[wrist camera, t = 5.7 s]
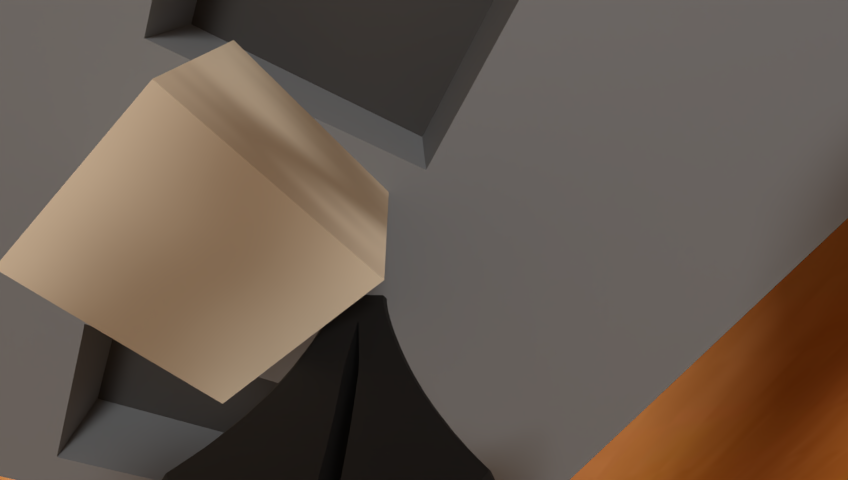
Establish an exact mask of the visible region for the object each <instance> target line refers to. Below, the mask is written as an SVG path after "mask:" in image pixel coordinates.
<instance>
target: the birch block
mask: <svg viewBox="0 0 848 480" xmlns="http://www.w3.org/2000/svg"><path fill="white" fill-rule="evenodd" d="M388 197H389V192H388V191H387V190H386V189H385V188H384V187H383V186H382V185H381V184H380V183H379V182H378V181H377V180H376V179H375V178H374V177H373V176H372V175H371V174H370V173H369V172H368V171H367V170H366V169H365V168H364V167H363V166H362V165H361V164H360V163H359V162H358V161H357V160H356V159H354V158H353V157H352V156H351V155H350V154H349V153H348V152H347V151H346V150H345V149H344V148H343V147H342V146H341V145H340V144H339V143H338V142H337V141H336V140H335V139H334V138H333V137H332V136H331V135H330V134H329V133H328V132H327V131H326V130H325V129H324V128H323V127H322V126H321V125H320V124H319V123H318V122H317V121H316V120H315V119H314V118H313V117H312V116H311V115H310V114H309V113H308V112H307V111H306V110H305V109H304V108H303V107H302V106H300V105H299V104H298V103H297V102H296V101H295V100H294V99H293V98H292V97H291V96H290V95H289V94H288V93H287V92H286V91H285V90H284V89H283V88H282V87H281V86H280V85H279V84H278V83H277V82H276V81H275V80H274V79H273V78H272V77H271V76H270V75H269V74H268V73H267V72H266V71H265V70H264V69H263V68H262V67H261V66H260V65H259V64H258V63H257V62H256V61H255V60H254V59H253V58H252V57H251V56H250V55H249V54H248V53H246V52H245V51H244V50H243V49H242V48H241V47H240V46H239V45H238V44H237V43H236V42H235V41H234V40H233V41H230V42H228V43H226V44H224V45H222V46H220V47H218V48H216V49H214V50H212V51H210V52H207V53H205V54H203V55H201V56H199V57H197V58H195V59H193V60H191V61H189V62H187V63H185V64H182V65H180V66H178V67H176V68H174V69H172V70H170V71H168V72H166V73H164V74H162V75H159V76H157V77H155V78H153V79H152V80H151V81H150V82H149V83H148V85H147V86H146V87H145V88H144V89H143V91H142V92H141V93H140V94H139V95H138V97H137V98H136V99H135V100H134V101H133V103H132V104H131V105H130V106H129V107H128V109H127V110H126V111H125V112H124V113H123V114H122V116H121V117H120V118H119V119H118V120H117V122H116V123H115V124H114V125H113V126H112V128H111V129H110V130H109V131H108V132H107V134H106V135H105V136H104V137H103V138H102V140H101V141H100V142H99V143H98V144H97V146H96V147H95V148H94V149H93V150H92V152H91V153H90V154H89V155H88V156H87V157H86V159H85V160H84V161H83V162H82V163H81V165H80V166H79V167H78V168H77V169H76V171H75V172H74V173H73V174H72V175H71V177H70V178H69V179H68V180H67V181H66V183H65V184H64V185H63V186H62V187H61V189H60V190H59V191H58V192H57V193H56V194H55V196H54V197H53V198H52V199H51V200H50V202H49V203H48V204H47V205H46V206H45V208H44V209H43V210H42V211H41V212H40V214H39V215H38V216H37V217H36V218H35V220H34V221H33V222H32V223H31V224H30V226H29V227H28V228H27V229H26V230H25V231H24V233H23V234H22V235H21V236H20V237H19V239H18V240H17V241H16V242H15V243H14V245H13V246H12V247H11V248H10V249H9V251H8V252H7V253H6V254H5V255H4V257H3V258H2V259H1V260H0V272H1V273H3V274H4V275H6V276H8V277H9V278H11V279H13V280H14V281H16V282H18V283H20V284H21V285H23V286H25V287H26V288H28V289H30V290H31V291H33V292H35V293H36V294H38V295H40V296H41V297H43V298H45V299H47V300H48V301H50V302H52V303H53V304H55V305H57V306H58V307H60V308H62V309H63V310H65V311H67V312H68V313H70V314H72V315H74V316H75V317H77V318H79V319H80V320H82V321H84V322H85V323H87V324H89V325H90V326H92V327H94V328H95V329H97V330H99V331H101V332H102V333H104V334H106V335H107V336H109V337H111V338H112V339H114V340H116V341H117V342H119V343H121V344H122V345H124V346H126V347H128V348H129V349H131V350H133V351H134V352H136V353H138V354H139V355H141V356H143V357H144V358H146V359H148V360H149V361H151V362H153V363H155V364H156V365H158V366H160V367H161V368H163V369H165V370H166V371H168V372H170V373H171V374H173V375H175V376H176V377H178V378H180V379H182V380H183V381H185V382H187V383H188V384H190V385H192V386H193V387H195V388H197V389H198V390H200V391H202V392H203V393H205V394H207V395H209V396H210V397H212V398H214V399H215V400H217V401H219V402H220V403H222V404H223V403H224V402H226V401H227V400H228V399H230V398H231V397H232V396H233V395H235V394H236V393H237V392H239V391H240V390H241V389H243V388H244V387H245V386H247V385H248V384H249V383H250V382H252V381H253V380H254V379H256V378H257V377H258V376H260V375H261V374H262V373H264V372H265V371H266V370H267V369H269V368H270V367H271V366H273V365H274V364H275V363H277V362H278V361H279V360H280V359H282V358H283V357H284V356H286V355H287V354H288V353H290V352H291V351H292V350H294V349H295V348H296V347H297V346H299V345H300V344H301V343H303V342H304V341H305V340H307V339H308V338H309V337H311V336H312V335H313V334H314V333H316V332H317V331H318V330H320V329H321V328H322V327H324V326H325V325H326V324H327V323H329V322H330V321H331V320H333V319H334V318H335V317H337V316H338V315H339V314H341V313H342V312H343V311H344V310H346V309H347V308H348V307H350V306H351V305H352V304H354V303H355V302H356V301H358V300H359V299H360V298H361V297H363V296H364V295H365V294H367V293H368V292H369V291H371V290H372V289H373V288H375V287H376V286H377V285H378V284H380V283H381V282H382V281H384V276H385V256H386V237H387V217H388Z"/></svg>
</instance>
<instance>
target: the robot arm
mask: <svg viewBox="0 0 848 480" xmlns="http://www.w3.org/2000/svg"><path fill="white" fill-rule="evenodd" d="M162 480H495V479H494V477H493V474H492V472H491V471H490V470H489V469H488V468H487V467H486V466H485V465H484V464H483V463H482V462H481V461H480V460H479V459H478V458H477V457H476V456H475V455H474V454H473V453H472V452H471V451H470V450H469V449H468V448H467V446H466V445H465V444H464V443H463V442H462V441H461V440H460V438H459V437H458V436H457V435H456V434H455V433H454V432H453V430H452V429H451V428H450V427H449V425H448V424H447V423H446V421H445V420H444V419H443V418H442V416H441V415H440V414H439V412H438V411H437V410H436V408H435V407H434V406H433V404H432V403H431V401H430V400H429V398H428V397H427V395H426V394H425V392H424V391H423V389H422V387H421V386H420V384H419V382H418V381H417V379H416V377H415V375H414V374H413V372H412V370H411V368H410V366H409V364H408V362H407V360H406V358H405V356H404V354H403V352H402V349H401V347H400V345H399V342H398V340H397V337H396V335H395V332H394V329H393V326H392V323H391V320H390V316H389V312H388V307H387V298H386V297H385V296H383V295H364V296H363V297H361V298H360V299H359V300H358V301H356V302H355V303H354V304H352V305H351V306H350V307H348V308H347V309H346V310H344V311H343V312H342V313H341V314H339V315H338V316H337V317H335V318H334V319H333V320H331V321H330V322H329V323H327V324H326V325H325V326H324V327H322V328H321V329H320V331H319V332H318V334H317V335H316V337H315V338H314V340H313V341H312V343H311V344H310V345H309V347H308V348H307V349H306V351H305V352H304V353H303V354H302V356H301V357H300V358H299V360H298V361H297V362H296V363H295V365H294V366H293V367H292V368H291V369H290V371H289V372H288V373H287V374H286V375H285V376H284V377H283V378H282V380H281V381H280V382H279V383H278V384H277V385H276V386H275V387H274V388H273V389H272V390H271V391H270V392H269V393H268V394H267V395H266V396H265V397H264V398H263V399H262V400H261V401H260V402H259V403H258V404H257V405H256V406H255V407H254V408H253V409H251V410H250V411H249V412H248V413H247V414H246V415H245V416H244V417H242V418H241V419H240V420H239V421H238V422H236V423H235V424H234V425H233V426H231V427H230V428H229V429H228V430H226V431H225V432H224V433H223V434H221V435H220V436H219V437H218V438H216V439H215V440H214V441H213V442H211V443H210V444H209V445H207V446H206V447H205V448H203V449H202V450H200V451H199V452H197V453H196V454H194V455H193V456H191V457H190V458H188V459H187V460H185V461H184V462H182V463H181V464H179V465H178V466H177V467H175V468H173V469H172V470H170V471H169V472H167V473H166V474H165V475H164V477H163V479H162Z"/></svg>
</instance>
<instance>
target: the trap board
mask: <svg viewBox="0 0 848 480" xmlns="http://www.w3.org/2000/svg"><path fill="white" fill-rule="evenodd" d="M233 40H234V41H235V42H236V43H237V44H238V45H239V46H240V47H241V48H242V49H243V50H244V51H245V52H246V53H248V54H249V55H250V56H251V57H252V58H253V59H254V60H255V61H256V62H257V63H258V64H259V65H260V66H261V67H262V68H263V69H264V70H265V71H266V72H267V73H268V74H269V75H270V76H271V77H272V78H273V79H274V80H275V81H276V82H277V83H278V84H279V85H280V86H281V87H282V88H283V89H284V90H285V91H286V92H287V93H288V94H289V95H290V96H291V97H292V98H293V99H294V100H295V101H296V102H297V103H298V104H299V105H300V106H302V107H303V108H304V109H305V110H306V111H307V112H308V113H309V114H310V115H311V116H312V117H313V118H314V119H315V120H316V121H317V122H318V123H319V124H320V125H321V126H322V127H323V128H324V129H325V130H326V131H327V132H328V133H329V134H330V135H331V136H332V137H333V138H334V139H335V140H336V141H337V142H338V143H339V144H340V145H341V146H342V147H343V148H344V149H345V150H346V151H347V152H348V153H349V154H350V155H351V156H352V157H353V158H354V159H356V160H357V161H358V162H359V163H360V164H361V165H362V166H363V167H364V168H365V169H366V170H367V171H368V172H369V173H370V174H371V175H372V176H373V177H374V178H375V179H376V180H377V181H378V182H379V183H380V184H381V185H382V186H383V187H384V188H385V189H386V190H387V191H388V192H389V197H388V217H387V237H386V256H385V276H384V281H382V282H381V283H380V284H378V285H377V286H376V287H375V288H373V289H372V290H371V291H369V292H368V293H367V294H365V295H383V296H385V297H386V298H387V307H388V312H389V316H390V320H391V323H392V326H393V329H394V332H395V335H396V337H397V340H398V342H399V345H400V347H401V349H402V352H403V354H404V356H405V358H406V360H407V362H408V364H409V366H410V368H411V370H412V372H413V374H414V375H415V377H416V379H417V381H418V382H419V384H420V386H421V387H422V389H423V391H424V392H425V394H426V395H427V397H428V398H429V400H430V401H431V403H432V404H433V406H434V407H435V408H436V410H437V411H438V412H439V414H440V415H441V416H442V418H443V419H444V420H445V421H446V423H447V424H448V425H449V427H450V428H451V429H452V430H453V432H454V433H455V434H456V435H457V436H458V437H459V438H460V440H461V441H462V442H463V443H464V444H465V445H466V446H467V448H468V449H469V450H470V451H471V452H472V453H473V454H474V455H475V456H476V457H477V458H478V459H479V460H480V461H481V462H482V463H483V464H484V465H485V466H486V467H487V468H488V469H489V470H490V471H491V472H492V474H493V477H494V479H495V480H570V479H571V478H572V477H573V476H574V475H575V474H576V473H577V472H578V471H579V470H580V469H581V468H582V467H584V466H585V465H586V464H587V463H588V462H589V461H590V460H591V459H592V458H593V457H594V456H595V455H596V454H597V453H598V452H599V451H601V450H602V449H603V448H604V447H605V446H606V445H607V444H608V443H609V442H610V441H611V440H612V439H613V438H614V437H615V436H616V435H618V434H619V433H620V432H621V431H622V430H623V429H624V428H625V427H626V426H627V425H628V424H629V423H630V422H631V421H632V420H633V419H635V418H636V417H637V416H638V415H639V414H640V413H641V412H642V411H643V410H644V409H645V408H646V407H647V406H648V405H649V404H651V403H652V402H653V401H654V400H655V399H656V398H657V397H658V396H659V395H660V394H661V393H662V392H663V391H664V390H665V389H666V388H668V387H669V386H670V385H671V384H672V383H673V382H674V381H675V380H676V379H677V378H678V377H679V376H680V375H681V374H682V373H683V372H685V371H686V370H687V369H688V368H689V367H690V366H691V365H692V364H693V363H694V362H695V361H696V360H697V359H698V358H699V357H700V356H702V355H703V354H704V353H705V352H706V351H707V350H708V349H709V348H710V347H711V346H712V345H713V344H714V343H715V342H716V341H718V340H719V339H720V338H721V337H722V336H723V335H724V334H725V333H726V332H727V331H728V330H729V329H730V328H731V327H732V326H733V325H735V324H736V323H737V322H738V321H739V320H740V319H741V318H742V317H743V316H744V315H745V314H746V313H747V312H748V311H749V310H750V309H752V308H753V307H754V306H755V305H756V304H757V303H758V302H759V301H760V300H761V299H762V298H763V297H764V296H765V295H766V294H767V293H769V292H770V291H771V290H772V289H773V288H774V287H775V286H776V285H777V284H778V283H779V282H780V281H781V280H782V279H783V278H785V277H786V276H787V275H788V274H789V273H790V272H791V271H792V270H793V269H794V268H795V267H796V266H797V265H798V264H799V263H800V262H802V261H803V260H804V259H805V258H806V257H807V256H808V255H809V254H810V253H811V252H812V251H813V250H814V249H815V248H816V247H817V246H819V245H820V244H821V243H822V242H823V241H824V240H825V239H826V238H827V237H828V236H829V235H830V234H831V233H832V232H833V231H834V230H836V229H837V228H838V227H839V226H840V225H841V224H842V223H843V222H844V221H845V220H846V219H847V218H848V0H0V260H1V259H2V258H3V257H4V255H5V254H6V253H7V252H8V251H9V249H10V248H11V247H12V246H13V245H14V243H15V242H16V241H17V240H18V239H19V237H20V236H21V235H22V234H23V233H24V231H25V230H26V229H27V228H28V227H29V226H30V224H31V223H32V222H33V221H34V220H35V218H36V217H37V216H38V215H39V214H40V212H41V211H42V210H43V209H44V208H45V206H46V205H47V204H48V203H49V202H50V200H51V199H52V198H53V197H54V196H55V194H56V193H57V192H58V191H59V190H60V189H61V187H62V186H63V185H64V184H65V183H66V181H67V180H68V179H69V178H70V177H71V175H72V174H73V173H74V172H75V171H76V169H77V168H78V167H79V166H80V165H81V163H82V162H83V161H84V160H85V159H86V157H87V156H88V155H89V154H90V153H91V152H92V150H93V149H94V148H95V147H96V146H97V144H98V143H99V142H100V141H101V140H102V138H103V137H104V136H105V135H106V134H107V132H108V131H109V130H110V129H111V128H112V126H113V125H114V124H115V123H116V122H117V120H118V119H119V118H120V117H121V116H122V114H123V113H124V112H125V111H126V110H127V109H128V107H129V106H130V105H131V104H132V103H133V101H134V100H135V99H136V98H137V97H138V95H139V94H140V93H141V92H142V91H143V89H144V88H145V87H146V86H147V85H148V83H149V82H150V81H151V80H152V79H153V78H155V77H157V76H159V75H162V74H164V73H166V72H168V71H170V70H172V69H174V68H176V67H178V66H180V65H182V64H185V63H187V62H189V61H191V60H193V59H195V58H197V57H199V56H201V55H203V54H205V53H207V52H210V51H212V50H214V49H216V48H218V47H220V46H222V45H224V44H226V43H228V42H230V41H233ZM319 331H320V330H318V331H317V332H316V333H314V334H313V335H312V336H311V337H309V338H308V339H307V340H305V341H304V342H303V343H301V344H300V345H299V346H297V347H296V348H295V349H294V350H292V351H291V352H290V353H288V354H287V355H286V356H284V357H283V358H282V359H280V360H279V361H278V362H277V363H275V364H274V365H273V366H271V367H270V368H269V369H267V370H266V371H265V372H264V373H262V374H261V375H260V376H258V377H257V378H256V379H254V380H253V381H252V382H250V383H249V384H248V385H247V386H245V387H244V388H243V389H241V390H240V391H239V392H237V393H236V394H235V395H233V396H232V397H231V398H230V399H228V400H227V401H226V402H224V403H223V404H222V403H220V402H219V401H217V400H215V399H214V398H212V397H210V396H209V395H207V394H205V393H203V392H202V391H200V390H198V389H197V388H195V387H193V386H192V385H190V384H188V383H187V382H185V381H183V380H182V379H180V378H178V377H176V376H175V375H173V374H171V373H170V372H168V371H166V370H165V369H163V368H161V367H160V366H158V365H156V364H155V363H153V362H151V361H149V360H148V359H146V358H144V357H143V356H141V355H139V354H138V353H136V352H134V351H133V350H131V349H129V348H128V347H126V346H124V345H122V344H121V343H119V342H117V341H116V340H114V339H112V338H111V337H109V336H107V335H106V334H104V333H102V332H101V331H99V330H97V329H95V328H94V327H92V326H90V325H89V324H87V323H85V322H84V321H82V320H80V319H79V318H77V317H75V316H74V315H72V314H70V313H68V312H67V311H65V310H63V309H62V308H60V307H58V306H57V305H55V304H53V303H52V302H50V301H48V300H47V299H45V298H43V297H41V296H40V295H38V294H36V293H35V292H33V291H31V290H30V289H28V288H26V287H25V286H23V285H21V284H20V283H18V282H16V281H14V280H13V279H11V278H9V277H8V276H6V275H4V274H3V273H1V272H0V476H2V477H7V478H11V479H16V480H162V479H163V477H164V475H165V474H166V473H167V472H169V471H170V470H172V469H173V468H175V467H177V466H178V465H179V464H181V463H182V462H184V461H185V460H187V459H188V458H190V457H191V456H193V455H194V454H196V453H197V452H199V451H200V450H202V449H203V448H205V447H206V446H207V445H209V444H210V443H211V442H213V441H214V440H215V439H216V438H218V437H219V436H220V435H221V434H223V433H224V432H225V431H226V430H228V429H229V428H230V427H231V426H233V425H234V424H235V423H236V422H238V421H239V420H240V419H241V418H242V417H244V416H245V415H246V414H247V413H248V412H249V411H250V410H251V409H253V408H254V407H255V406H256V405H257V404H258V403H259V402H260V401H261V400H262V399H263V398H264V397H265V396H266V395H267V394H268V393H269V392H270V391H271V390H272V389H273V388H274V387H275V386H276V385H277V384H278V383H279V382H280V381H281V380H282V378H283V377H284V376H285V375H286V374H287V373H288V372H289V371H290V369H291V368H292V367H293V366H294V365H295V363H296V362H297V361H298V360H299V358H300V357H301V356H302V354H303V353H304V352H305V351H306V349H307V348H308V347H309V345H310V344H311V343H312V341H313V340H314V338H315V337H316V335H317V334H318V332H319Z"/></svg>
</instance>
